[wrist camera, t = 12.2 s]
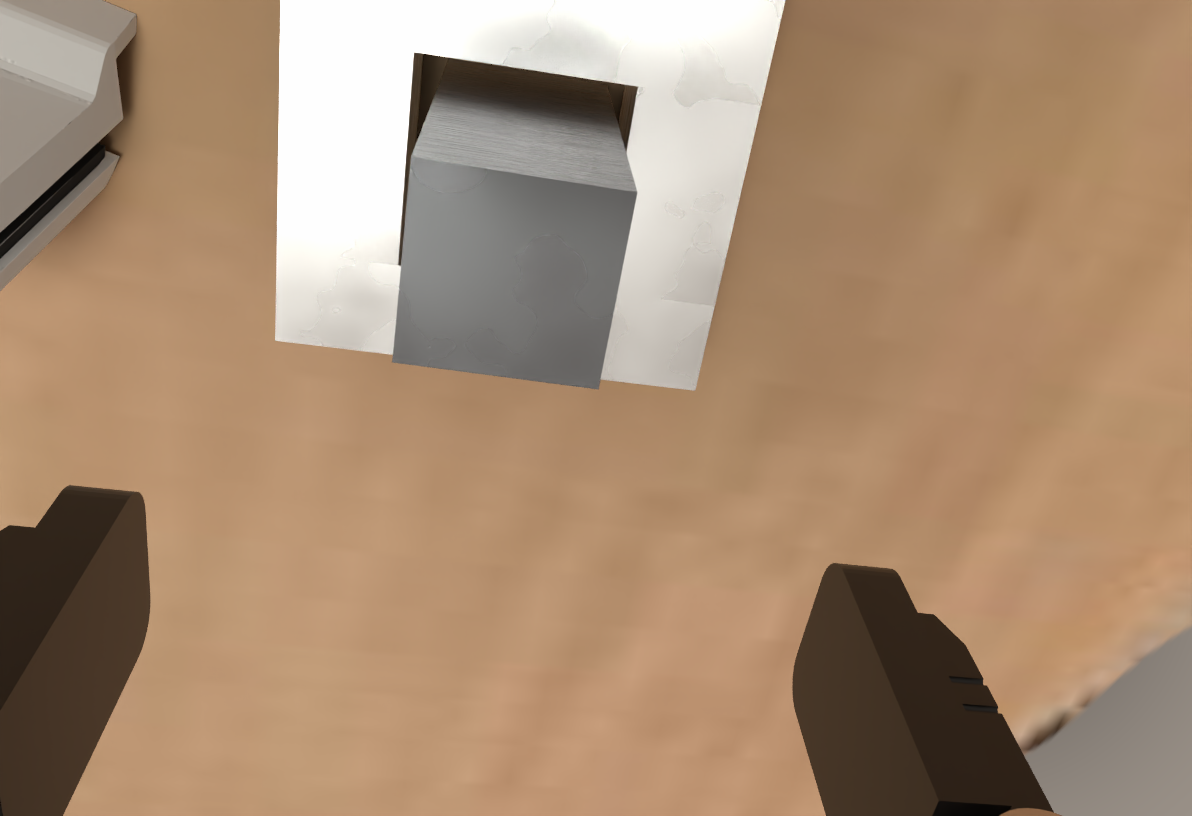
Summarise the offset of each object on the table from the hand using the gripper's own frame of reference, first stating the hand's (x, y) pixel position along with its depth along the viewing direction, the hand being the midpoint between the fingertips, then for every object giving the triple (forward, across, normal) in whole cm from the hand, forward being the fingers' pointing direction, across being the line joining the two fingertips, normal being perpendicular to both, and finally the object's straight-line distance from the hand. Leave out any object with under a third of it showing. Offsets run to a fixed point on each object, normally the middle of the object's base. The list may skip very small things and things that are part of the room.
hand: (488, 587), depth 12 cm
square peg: (+20, 0, 0) cm, 20 cm away
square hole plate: (+20, 0, -2) cm, 20 cm away
